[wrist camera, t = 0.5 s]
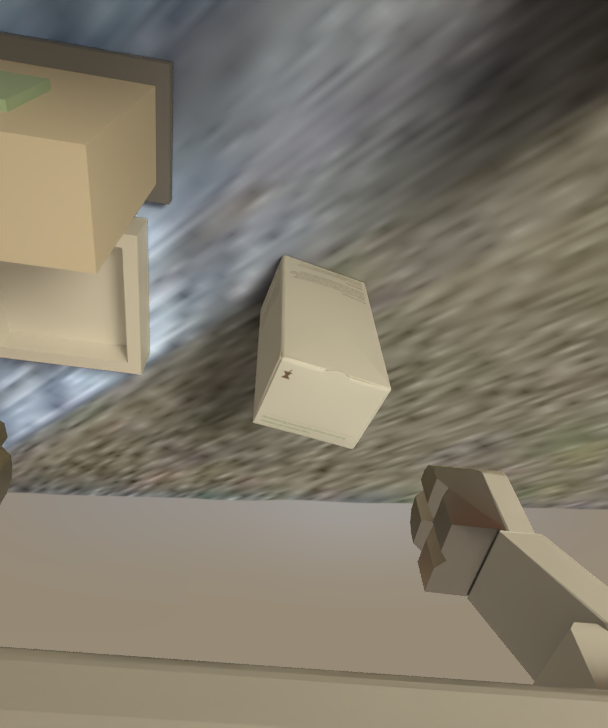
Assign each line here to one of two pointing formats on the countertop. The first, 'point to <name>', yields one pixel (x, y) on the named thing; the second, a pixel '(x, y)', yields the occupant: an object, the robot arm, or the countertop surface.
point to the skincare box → (318, 356)
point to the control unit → (78, 149)
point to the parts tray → (81, 310)
